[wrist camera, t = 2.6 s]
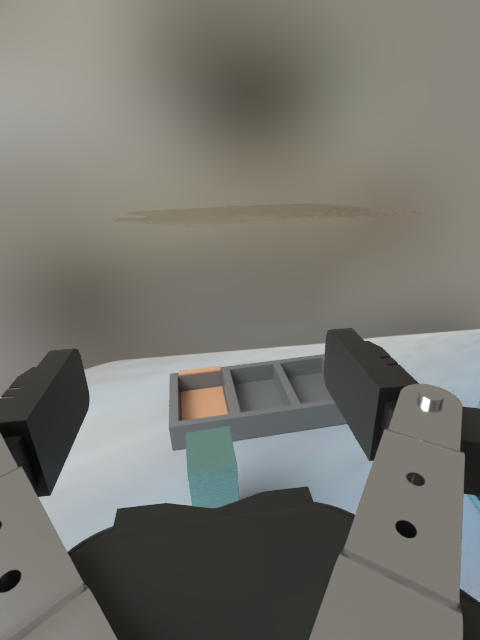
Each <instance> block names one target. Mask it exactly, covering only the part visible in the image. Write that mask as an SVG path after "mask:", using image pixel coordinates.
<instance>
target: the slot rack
mask: <svg viewBox="0 0 480 640" xmlns="http://www.w3.org/2000/svg"><path fill="white" fill-rule="evenodd" d="M324 359H325V354H323V355H315V356H307V357H299V358H291V359H283V360H275V361H267V362H260V363H252V364H244V365H236V366H228V367H220V366H218V367H210V368H202V369H194V370H186V371H179V373H173V374H170V400H169V430H170V437H171V443H172V449H173V450H179V449H185V448H186V432H193V431H200V430H207V429H214V428H220V427H227V426H229V428H230V433H231V438H232V441H237V440H244V439H250V438H257V437H263V436H270V435H276V434H283V433H289V432H296V431H302V430H309V429H315V428H322V427H328V426H335V425H341V424H347V422H346V421H345V419H344V417H343V415H342V414H341V412H340V410H339V409H338V407H337V405H336V404H335V402H334V400H333V399H332V397H331V395H330V393H329V392H328V390H327V388H326V385H325V381H324Z"/></svg>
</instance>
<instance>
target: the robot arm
mask: <svg viewBox="0 0 480 640" xmlns="http://www.w3.org/2000/svg"><path fill="white" fill-rule="evenodd" d="M324 381H325V385H326V388H327V390H328V392H329V393H330V395H331V397H332V399H333V400H334V402H335V404H336V405H337V407H338V409H339V410H340V412H341V414H342V415H343V417H344V419H345V421H346V422H347V424H348V426H349V427H350V429H351V431H352V432H353V434H354V436H355V438H356V439H357V441H358V443H359V444H360V446H361V448H362V449H363V451H364V453H365V454H366V456H367V458H368V460H369V461H373V464H372V467H371V470H370V473H369V476H368V479H367V482H366V485H365V488H364V491H363V494H362V497H361V500H360V503H359V506H358V509H357V512H356V514H355V515H354V514H352V513H350V512H348V511H345V510H343V509H341V508H338V507H335V506H332V505H328V504H323V503H318V502H313V499H312V497H311V494H310V491H309V488H308V487H300V488H292V489H283V490H274V491H266V492H261V493H258V494H255V495H253V496H250V497H247V498H244V499H241V500H239V501H236V502H233V503H230V504H227V505H224V506H222V507H218V508H205V507H196V506H187V505H178V504H169V503H163V504H154V505H146V506H137V507H129V508H120V509H117V513H116V517H115V522H114V526H112V527H110V528H107V529H105V530H102V531H100V532H98V533H96V534H94V535H92V536H91V537H89V538H87V539H85V540H84V541H82V542H81V543H79V544H78V545H76V546H75V547H73V548H72V549H71V550H69V551H68V552H67V551H66V549H65V547H64V545H63V543H62V541H61V540H60V538H59V536H58V534H57V532H56V530H55V528H54V526H53V525H52V523H51V521H50V519H49V517H48V515H47V513H46V511H45V509H44V508H43V506H42V504H41V502H40V500H39V498H38V497H41V496H50V495H51V493H52V491H53V488H54V486H55V484H56V482H57V479H58V477H59V475H60V472H61V470H62V468H63V466H64V463H65V461H66V459H67V457H68V454H69V452H70V450H71V447H72V445H73V443H74V441H75V438H76V436H77V434H78V432H79V429H80V427H81V425H82V423H83V420H84V418H85V416H86V413H87V411H88V408H89V390H88V386H87V381H86V377H85V373H84V369H83V364H82V360H81V356H80V353H79V351H78V350H77V349H64V350H51V351H49V352H48V353H47V355H46V356H45V357H44V359H43V360H42V361H41V362H40V364H39V365H38V366H37V367H32V368H31V369H29V370H28V371H26V372H25V373H23V374H22V375H20V376H19V377H17V379H16V380H15V381H14V382H13V383H12V384H11V386H10V387H9V390H6V392H5V393H4V394H3V395H2V396H1V397H2V398H1V399H0V640H480V602H478V601H477V600H476V599H474V598H473V597H471V596H470V595H469V594H467V593H466V592H464V591H463V590H462V589H460V568H461V543H462V518H463V493H464V494H470V495H475V496H476V497H477V499H478V500H479V501H480V409H479V408H469V407H462V403H461V401H460V400H459V399H458V398H457V397H456V396H455V395H453V394H452V393H450V392H448V391H447V390H444V389H442V388H439V387H436V386H432V385H427V384H419V383H418V382H417V381H416V380H415V379H414V378H413V377H412V376H411V375H409V374H408V373H407V372H406V371H405V370H404V369H403V368H402V367H401V366H400V365H398V363H397V362H396V361H395V360H394V359H393V358H391V356H390V355H389V354H388V353H387V352H386V351H385V350H384V349H383V348H382V347H380V346H377V345H375V344H373V343H371V342H369V341H364V340H363V339H362V338H361V337H360V336H359V335H358V334H357V333H356V332H355V331H354V330H353V329H352V328H345V329H332V330H328V332H327V335H326V345H325V359H324Z"/></svg>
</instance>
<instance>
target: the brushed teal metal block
mask: <svg viewBox="0 0 480 640" xmlns="http://www.w3.org/2000/svg"><path fill="white" fill-rule="evenodd" d="M186 451H187V473H188V480H189V487H190V494H191V501H192V506H196V507H205V508H218V507H222V506H224V505H227V504H230V503H233V502H236V501H239V490H238V474H237V462H236V457H235V452H234V447H233V443H232V438H231V433H230V428H229V426H227V427H220V428H214V429H207V430H200V431H193V432H186Z"/></svg>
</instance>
